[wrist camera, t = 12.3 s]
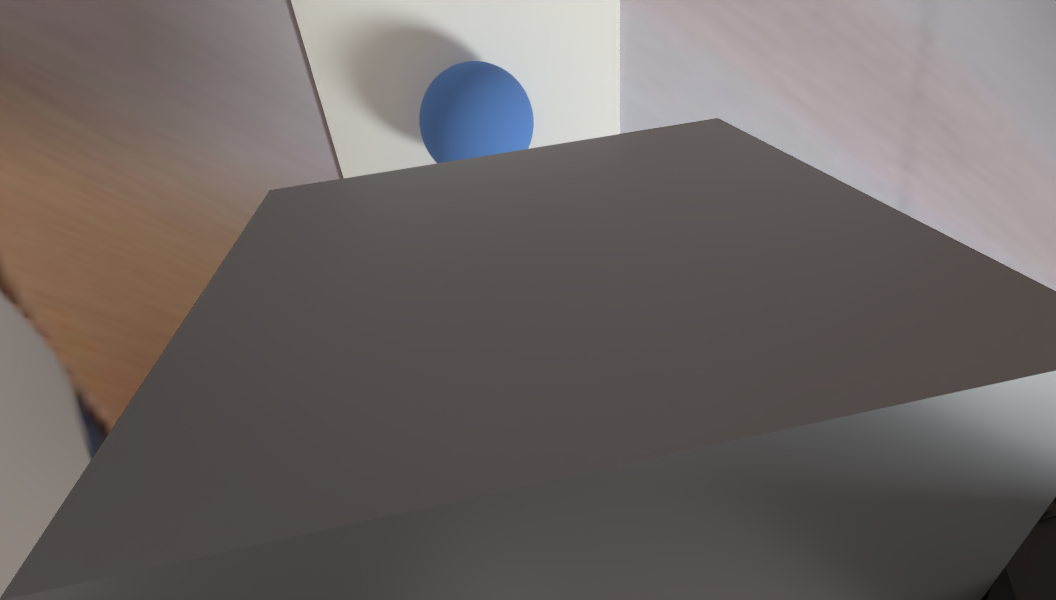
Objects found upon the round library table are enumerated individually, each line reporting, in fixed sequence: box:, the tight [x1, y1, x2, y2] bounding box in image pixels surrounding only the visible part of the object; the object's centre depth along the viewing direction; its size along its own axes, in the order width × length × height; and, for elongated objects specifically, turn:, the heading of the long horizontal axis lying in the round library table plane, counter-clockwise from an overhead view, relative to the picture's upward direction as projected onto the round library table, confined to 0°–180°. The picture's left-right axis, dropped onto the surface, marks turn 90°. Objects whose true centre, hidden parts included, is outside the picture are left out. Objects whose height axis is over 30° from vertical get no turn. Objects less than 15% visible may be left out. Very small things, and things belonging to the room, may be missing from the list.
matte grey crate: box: [0, 118, 1056, 600], centre depth 11 cm, size 10×10×9 cm
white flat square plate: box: [291, 0, 620, 178], centre depth 25 cm, size 14×14×1 cm
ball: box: [419, 61, 534, 163], centre depth 23 cm, size 5×5×5 cm
